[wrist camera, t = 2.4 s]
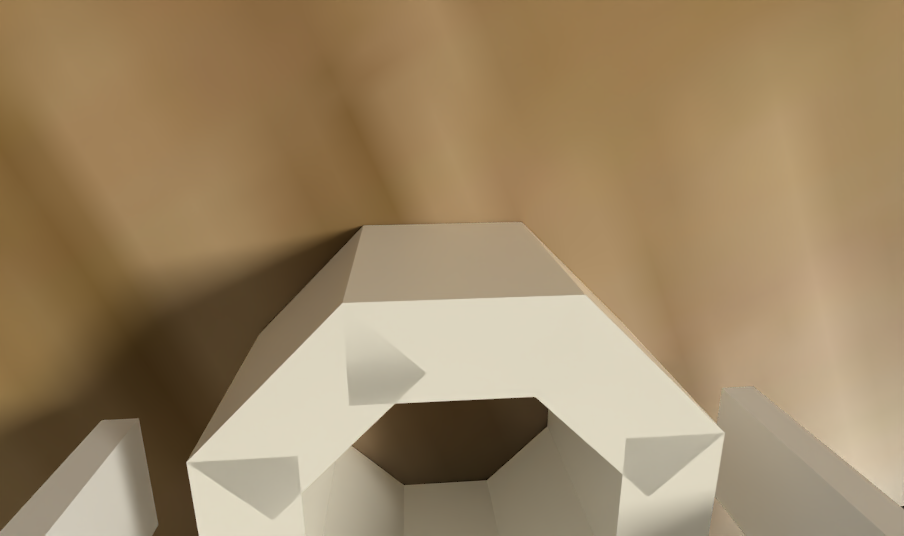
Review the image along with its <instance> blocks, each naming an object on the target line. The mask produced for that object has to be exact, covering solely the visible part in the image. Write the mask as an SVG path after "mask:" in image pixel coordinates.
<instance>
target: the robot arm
mask: <svg viewBox="0 0 904 536" xmlns="http://www.w3.org/2000/svg"><path fill="white" fill-rule="evenodd" d="M717 425H718V426H719V427H720V428H721V429H722V430H723V432H724V433H725V436H724V442H723V448H722V454H721V460H720V467H719V473H718V479H717V485H716V491H715V497H716V499H717V500H718V501H719V502H720V504H721V505H722V506H723V507H724V509H725V510H726V511H727V513H728V514H729V515H730V516H731V518H732V519H733V520H734V521H735V523H736V524H737V525H738V526H739V528H740V529H741V530H742V531H743V533H744V534H745V535H746V536H904V506H899V505H898V504H897V503H896V502H894V501H893V500H892V499H891V498H889V497H888V496H887V495H886V494H885V493H883V492H882V491H881V490H880V489H878V488H877V487H876V486H875V485H874V484H872V483H871V482H870V481H869V480H867V479H866V478H865V477H864V476H863V475H861V474H860V473H859V472H858V471H856V470H855V469H854V468H853V467H851V466H850V465H849V464H848V463H847V462H845V461H844V460H843V459H842V458H840V457H839V456H838V455H837V454H836V453H834V452H833V451H832V450H831V449H829V448H828V447H827V446H826V445H824V444H823V443H822V442H821V441H820V440H818V439H817V438H816V437H815V436H813V435H812V434H811V433H810V432H809V431H807V430H806V429H805V428H804V427H802V426H801V425H800V424H799V423H797V422H796V421H795V420H794V419H793V418H791V417H790V416H789V415H788V414H786V413H785V412H784V411H783V410H782V409H780V408H779V407H778V406H777V405H775V404H774V403H773V402H772V401H770V400H769V399H768V398H767V397H766V396H764V395H763V394H762V393H761V392H759V391H758V390H757V389H756V388H755V387H753V386H750V387H730V388H722V392H721V399H720V406H719V413H718V420H717ZM157 526H158V520H157V514H156V509H155V503H154V498H153V493H152V487H151V482H150V476H149V471H148V465H147V460H146V454H145V449H144V443H143V438H142V433H141V427H140V422H139V418H134V419H115V420H101V421H100V422H99V424H98V425H97V426H96V427H95V428H94V429H93V430H92V431H91V432H90V433H89V435H88V436H87V437H86V438H85V439H84V440H83V441H82V442H81V443H80V444H79V446H78V447H77V448H76V449H75V450H74V451H73V452H72V453H71V454H70V455H69V456H68V458H67V459H66V460H65V461H64V462H63V463H62V464H61V465H60V466H59V467H58V469H57V470H56V471H55V472H54V473H53V474H52V475H51V476H50V477H49V478H48V480H47V481H46V482H45V483H44V484H43V485H42V486H41V487H40V488H39V489H38V491H37V492H36V493H35V494H34V495H33V496H32V497H31V498H30V499H29V500H28V501H27V503H26V504H25V505H24V506H23V507H22V508H21V509H20V510H19V511H18V512H17V514H16V515H15V516H14V517H13V518H12V519H11V520H10V521H9V522H8V523H7V525H6V526H5V527H4V528H3V529H2V530H1V531H0V536H152V535H153V533H154V532H155V530H156V528H157Z"/></svg>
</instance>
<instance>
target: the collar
mask: <svg viewBox="0 0 904 536" xmlns="http://www.w3.org/2000/svg"><path fill="white" fill-rule="evenodd" d="M521 397H536V398H537V399H538V400H539V401H540V402H541V403H543V404H544V405H545V406H546V407H547V408H548V423H547V427H546V428H545V429H544V430H543V431H542V432H540V433H539V434H538V435H537V436H536V437H535V438H534V439H533V440H531V441H530V442H529V443H528V444H527V445H526V446H525V447H524V448H523V449H521V450H520V451H519V452H518V453H517V454H516V455H515V456H514V457H512V458H511V459H510V460H509V461H508V462H507V463H506V464H505V465H504V466H502V467H501V468H500V469H499V470H498V471H497V472H496V473H495V474H493V475H492V476H491V477H490V478H489V479H488V480H483V481H466V482H449V483H432V484H416V485H403V484H402V483H400V482H399V481H398V480H396V479H395V478H394V477H392V476H391V475H390V474H388V473H387V472H386V471H384V470H383V469H382V468H380V467H379V466H378V465H376V464H375V463H374V462H372V461H371V460H370V459H368V458H367V457H366V456H365V455H363V454H362V453H361V452H359V451H358V450H357V449H355V448H354V447H353V446H351V445H352V444H353V443H354V442H355V441H356V440H358V439H359V438H360V437H361V436H362V435H363V434H364V433H365V432H366V431H367V430H368V429H369V428H370V427H371V426H372V425H373V424H374V423H375V422H376V421H377V420H378V419H379V418H380V417H382V416H383V415H384V414H385V413H386V412H387V411H388V410H389V409H390V408H391V407H392V406H393V405H394V404H395V403H416V402H437V401H458V400H479V399H500V398H521ZM724 436H725V433H724V432H723V430H722V429H721V428H720V427H719V426H718V425H717V424H716V423H715V422H714V421H713V420H712V419H711V418H710V416H709V415H708V414H707V413H706V412H705V411H704V410H703V409H702V408H701V407H700V406H699V405H698V404H697V403H696V401H695V400H694V399H693V398H692V397H691V396H690V395H689V394H688V393H687V392H686V391H685V390H684V389H683V387H682V386H681V385H680V384H679V383H678V382H677V381H676V380H675V379H674V378H673V377H672V376H671V375H670V373H669V372H668V371H667V370H666V369H665V368H664V367H663V366H662V365H661V364H660V363H659V362H658V361H657V359H656V358H655V357H654V356H653V355H652V354H651V353H650V352H649V351H648V350H647V349H646V348H645V347H644V346H643V344H642V343H641V342H640V341H639V340H638V339H637V338H636V337H635V336H634V335H633V334H632V333H631V332H630V330H629V329H628V328H627V327H626V326H625V325H624V324H623V323H622V322H621V321H620V320H619V319H618V318H617V317H616V316H615V315H614V314H613V313H612V312H611V311H610V310H609V309H608V308H607V307H606V306H605V305H604V304H603V303H602V302H601V301H600V300H599V299H598V298H597V297H596V296H595V295H594V294H593V293H592V292H591V291H590V290H589V289H588V288H587V287H586V286H585V285H584V284H583V283H582V282H581V281H580V280H579V279H578V278H577V277H576V276H575V275H574V274H573V273H572V272H571V271H570V270H569V269H568V268H567V267H566V266H565V265H564V264H563V263H562V262H561V261H560V260H559V259H558V258H557V257H556V256H555V255H554V254H553V253H552V252H551V251H550V250H549V249H548V248H547V247H546V246H545V245H544V244H543V243H542V242H541V241H540V240H539V239H538V238H537V237H536V236H535V235H534V234H533V233H532V232H531V231H530V230H529V229H528V228H527V227H526V226H525V225H524V224H523V223H522V222H496V223H453V224H411V225H368V226H362V228H361V229H360V230H359V231H358V232H357V233H356V234H355V235H354V236H353V237H352V238H351V239H350V240H349V241H348V242H347V243H346V244H345V245H344V246H343V247H342V248H341V249H340V250H339V252H338V253H337V254H336V255H335V256H334V257H333V258H332V259H331V260H330V261H329V262H328V263H327V264H326V265H325V266H324V267H323V268H322V269H321V270H320V271H319V272H318V273H317V274H316V276H315V277H314V278H313V279H312V280H311V281H310V282H309V283H308V284H307V285H306V286H305V287H304V288H303V289H302V290H301V291H300V292H299V293H298V294H297V295H296V296H295V297H294V298H293V300H292V301H291V302H290V303H289V304H288V305H287V306H286V307H285V308H284V309H283V310H282V311H281V312H280V313H279V314H278V315H277V316H276V317H275V318H274V319H273V320H272V321H271V322H270V324H269V325H268V326H267V327H266V328H265V329H264V330H263V331H262V332H261V333H260V334H259V336H258V337H257V339H256V341H255V343H254V344H253V346H252V348H251V350H250V351H249V353H248V355H247V357H246V358H245V360H244V362H243V364H242V365H241V367H240V369H239V371H238V372H237V374H236V376H235V378H234V379H233V381H232V383H231V385H230V387H229V388H228V390H227V392H226V394H225V395H224V397H223V399H222V401H221V402H220V404H219V406H218V408H217V409H216V411H215V413H214V415H213V416H212V418H211V420H210V422H209V423H208V425H207V427H206V429H205V430H204V432H203V434H202V436H201V437H200V439H199V441H198V443H197V445H196V446H195V448H194V450H193V452H192V453H191V455H190V457H189V459H188V460H187V462H186V463H187V469H188V475H189V481H190V487H191V493H192V498H193V504H194V510H195V516H196V522H197V528H198V534H199V536H708V535H709V529H710V522H711V516H712V510H713V504H714V498H715V491H716V485H717V479H718V473H719V467H720V460H721V454H722V448H723V442H724Z"/></svg>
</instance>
